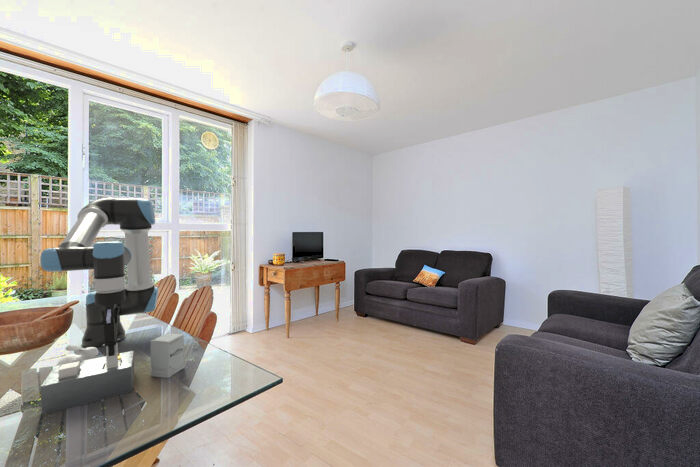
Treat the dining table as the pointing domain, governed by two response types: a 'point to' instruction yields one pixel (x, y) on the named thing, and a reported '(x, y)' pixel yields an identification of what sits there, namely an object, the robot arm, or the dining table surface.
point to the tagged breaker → (112, 365)
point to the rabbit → (78, 354)
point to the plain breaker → (69, 369)
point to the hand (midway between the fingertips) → (112, 364)
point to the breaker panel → (87, 383)
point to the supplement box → (167, 355)
